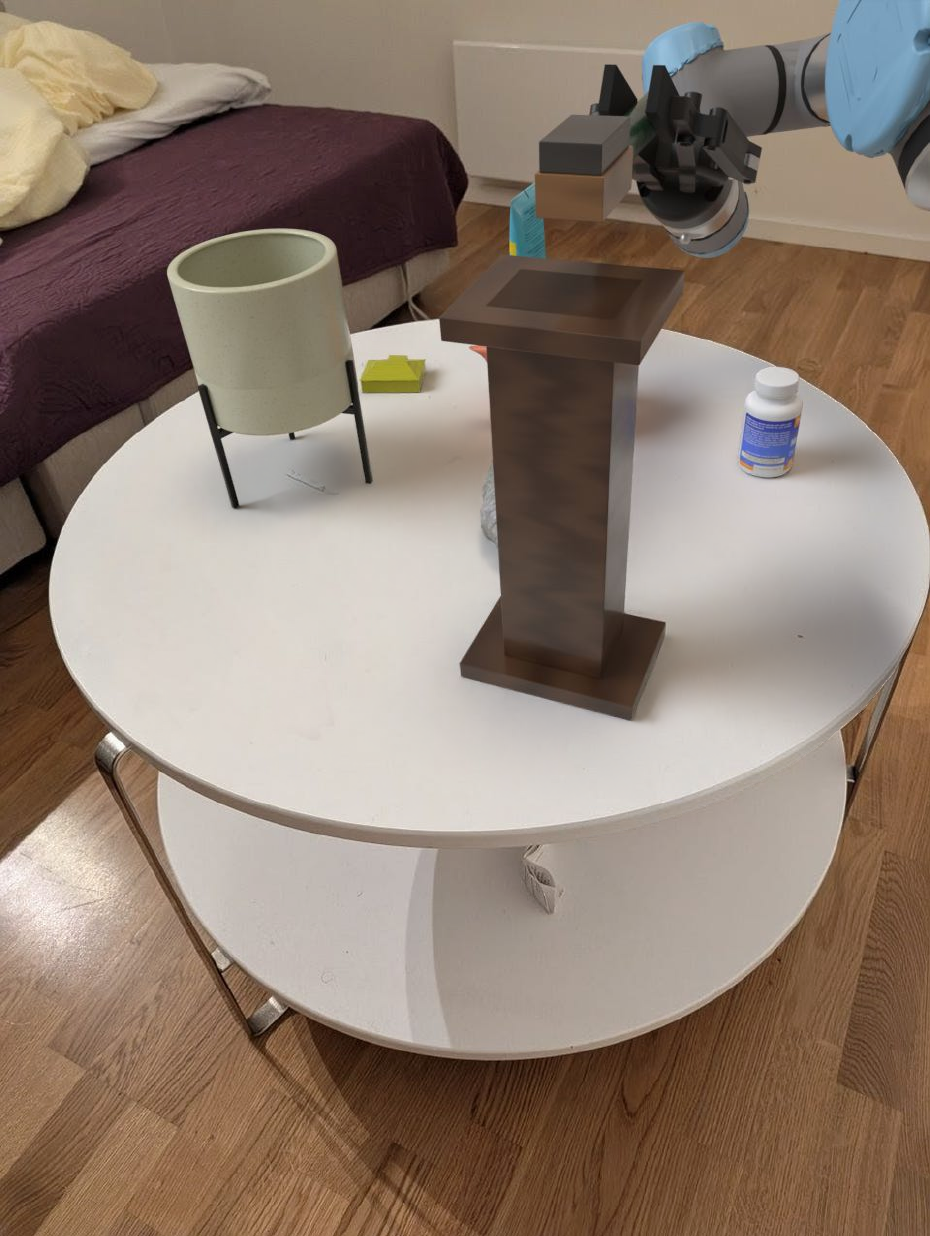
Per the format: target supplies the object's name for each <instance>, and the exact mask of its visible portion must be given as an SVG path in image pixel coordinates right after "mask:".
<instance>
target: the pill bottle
mask: <svg viewBox="0 0 930 1236" xmlns="http://www.w3.org/2000/svg"><path fill="white" fill-rule="evenodd" d="M799 385H800V375H799V373H797V371H795V370H793V369H791V368H787V367H783V366H769V367H765V368H762V369H760V370H759V371H757V372H756V374H755V379H754V384H753V389H754V390H751V392H749V393H748V394H747V396H746V398H745V399H744V406H743V415H742V422H741V430H740V437H739V444H738V445H739V446H738V452H737V464H738V467H739V468H740V469H741V470H742V471H743V472H745V473H747V474H748V475H750V476H754V477H759V478H776V477H780V476H784V475H786V474H787V473H788V472H789V471H790V470H791V468H792V466H793V463H794V460H795V459H794V458H795V453H796V448H797V447H796V446H797V441H798V436H799V430H800V424H801V419H802V413H803V408H804V401H803V399H802V397H801V396H800V395H799V394H798V391H799Z"/></svg>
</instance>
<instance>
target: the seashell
mask: <svg viewBox="0 0 930 1236" xmlns="http://www.w3.org/2000/svg"><path fill="white" fill-rule="evenodd" d="M482 499H483V500H482V503H481V507H480V518H481V519H480V523H481V525H480V527H481V530H482V532H483V535H484V536H485V537H486V539H487V540H488V541H490V542H492V543H494V544H495V545H496V548H497V549H498V540H497V522H496V505H495V488H494V471H493V460H491V462H490V465H489V469H488V472H487V474H486V476H485V478H484V482H483V483H482Z"/></svg>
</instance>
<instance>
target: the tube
mask: <svg viewBox="0 0 930 1236" xmlns="http://www.w3.org/2000/svg"><path fill="white" fill-rule="evenodd" d="M544 222H545V221H544V218H536V217H535V182H533V183H531V185H529V186H528V187H527V188H525V189H524V190H523V191H521V192H520V193H518V194H517V195H516V196H515V197H513V198H512V199H511V200H510V213H509V240H508V241H509V249H508V250H509V255H512V256H523V257H535V258H546V259H547V256H546V255H547V254H546V238H545V225H544V224H545V223H544Z"/></svg>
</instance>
